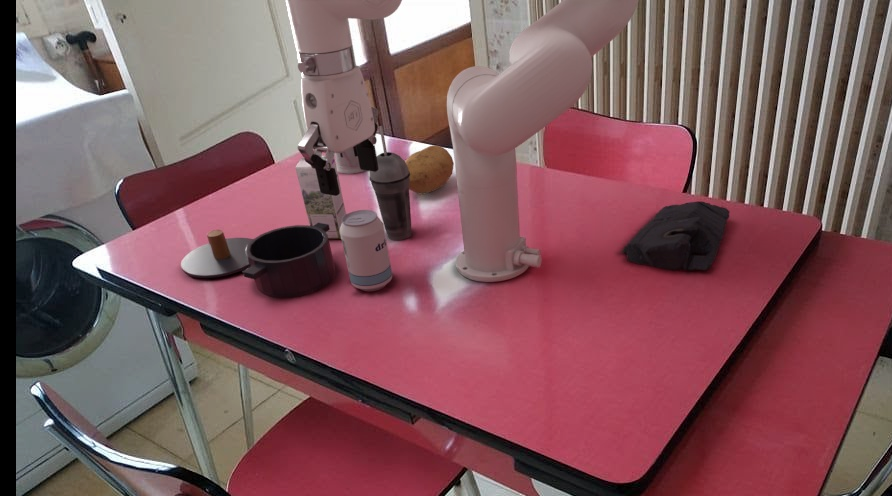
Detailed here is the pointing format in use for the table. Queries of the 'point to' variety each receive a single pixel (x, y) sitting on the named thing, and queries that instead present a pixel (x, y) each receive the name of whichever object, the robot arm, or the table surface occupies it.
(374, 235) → the beverage can
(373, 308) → the table surface
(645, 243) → the black folded cloth
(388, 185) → the beverage cup
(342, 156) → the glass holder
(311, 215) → the syrup box
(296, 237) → the pan
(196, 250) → the lid
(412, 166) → the potato
